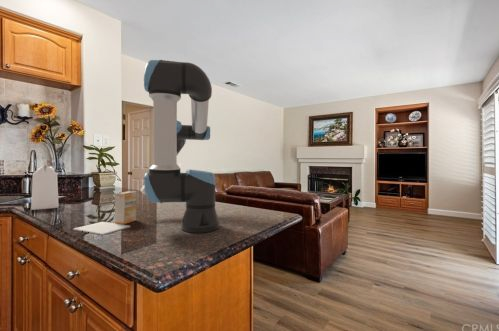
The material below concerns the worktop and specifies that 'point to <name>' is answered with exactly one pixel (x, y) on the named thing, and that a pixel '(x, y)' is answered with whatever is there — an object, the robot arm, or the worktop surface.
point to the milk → (44, 188)
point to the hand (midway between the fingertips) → (142, 192)
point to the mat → (102, 228)
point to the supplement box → (125, 207)
